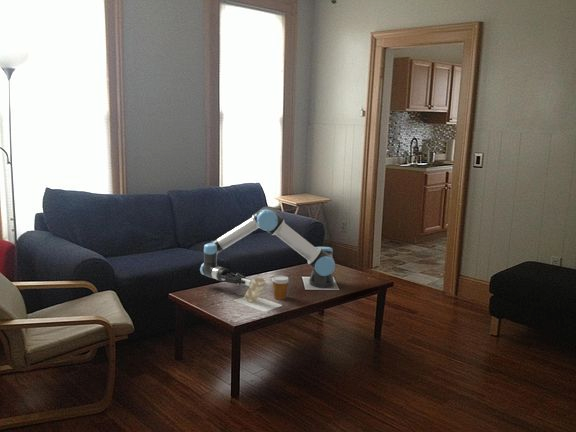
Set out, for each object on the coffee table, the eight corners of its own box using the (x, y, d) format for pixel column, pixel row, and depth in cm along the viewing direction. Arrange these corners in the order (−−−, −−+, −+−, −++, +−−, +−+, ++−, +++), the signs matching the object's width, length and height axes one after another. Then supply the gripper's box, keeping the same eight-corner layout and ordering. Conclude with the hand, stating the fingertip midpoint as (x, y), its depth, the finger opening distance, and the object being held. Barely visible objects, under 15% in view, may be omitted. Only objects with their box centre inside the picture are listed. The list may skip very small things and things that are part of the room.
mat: (232, 301, 290) (232, 300, 290) (251, 295, 300) (251, 294, 300) (264, 312, 274) (264, 311, 274) (282, 305, 285) (282, 305, 284)
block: (244, 296, 289) (253, 277, 282) (250, 294, 293) (260, 275, 286) (249, 302, 287) (259, 284, 280) (256, 300, 291) (266, 282, 284)
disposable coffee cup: (289, 301, 293) (290, 280, 290) (272, 301, 291) (273, 280, 289) (287, 295, 302) (287, 275, 299) (270, 295, 300) (271, 275, 298)
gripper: (229, 278, 308) (258, 287, 293) (212, 282, 299) (241, 292, 283) (229, 265, 307) (259, 274, 292) (212, 270, 297) (241, 279, 282)
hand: (250, 283), depth 287 cm, fingers closed
